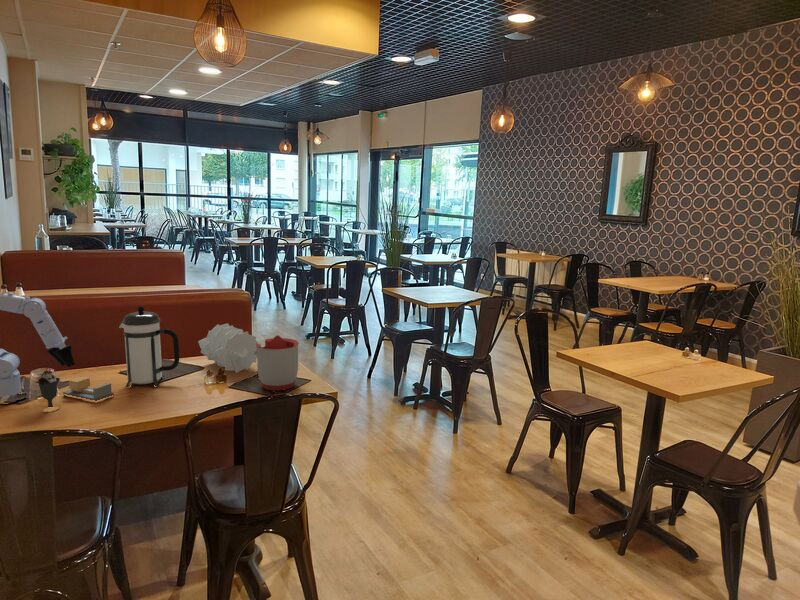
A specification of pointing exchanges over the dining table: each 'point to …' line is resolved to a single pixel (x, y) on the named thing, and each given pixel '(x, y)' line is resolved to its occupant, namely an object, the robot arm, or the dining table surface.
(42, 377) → the sundae
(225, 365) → the white ruffled oval piece
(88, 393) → the track
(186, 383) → the dining table surface
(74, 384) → the sliding carriage
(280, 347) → the citrus juicer
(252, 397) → the dining table surface
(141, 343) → the coffee press
